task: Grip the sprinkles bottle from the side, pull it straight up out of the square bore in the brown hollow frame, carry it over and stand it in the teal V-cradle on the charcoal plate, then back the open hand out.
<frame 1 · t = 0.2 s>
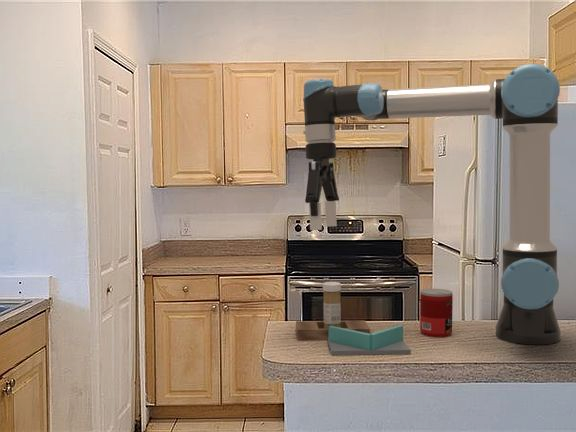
hand: (324, 228, 166), 27 cm above the countertop, tool pointing down, fingers open, 13 cm apart
sprinkles bottle: (332, 335, 168), resting in brown hollow frame
brown hollow frame: (332, 335, 168), on the countertop
canned food: (436, 334, 169), on the countertop
v cradle: (367, 347, 156), on the countertop
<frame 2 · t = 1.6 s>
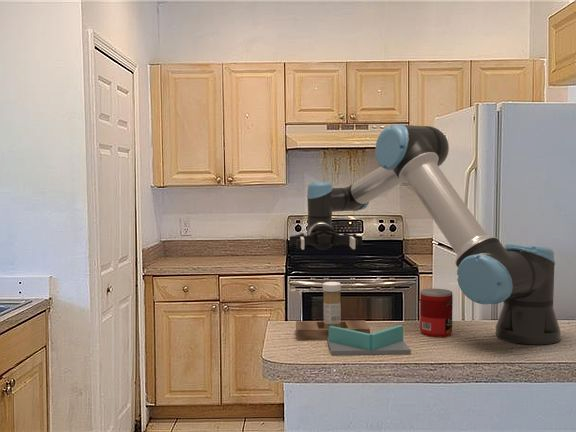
hand: (328, 244, 176), 22 cm above the countertop, tool horizontal, fingers open, 13 cm apart
nothing on the countertop moved.
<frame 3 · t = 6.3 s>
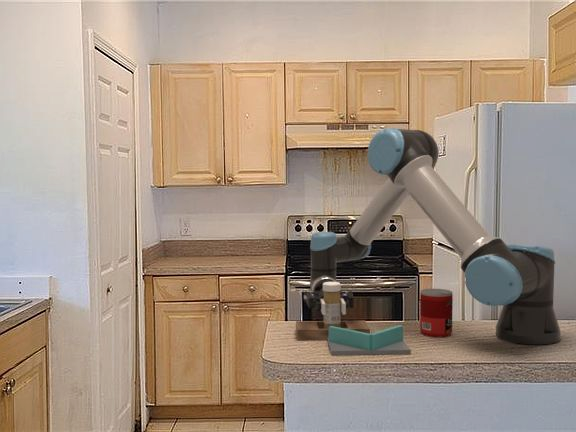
hand: (334, 309, 163), 8 cm above the countertop, tool horizontal, fingers closed on sprinkles bottle, 4 cm apart
sprinkles bottle: (332, 335, 168), resting in brown hollow frame, touching gripper
everything else where it was.
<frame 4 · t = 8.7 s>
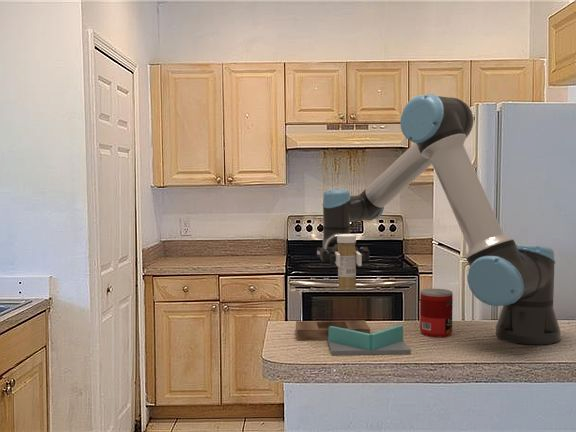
hand: (349, 260, 156), 21 cm above the countertop, tool horizontal, fingers closed on sprinkles bottle, 4 cm apart
sprinkles bottle: (346, 290, 162), point 13 cm above the countertop, touching gripper
everything else where it was.
when the fingers open (10 cm above the countertop, at t = 11.4 s): sprinkles bottle drops 1 cm, resting on v cradle.
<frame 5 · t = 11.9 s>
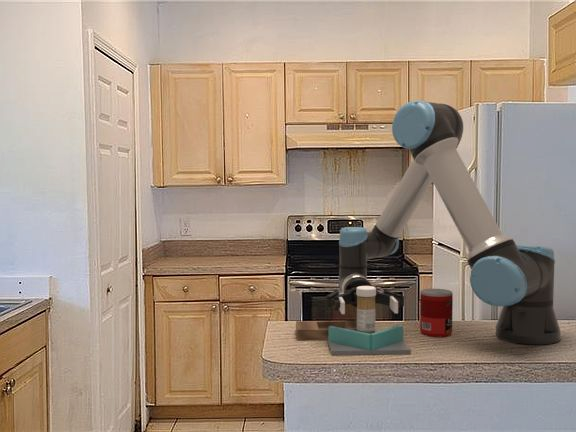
hand: (369, 307, 152), 10 cm above the countertop, tool horizontal, fingers open, 11 cm apart
sprinkles bottle: (365, 344, 156), point 1 cm above the countertop, touching v cradle
everything else where it was.
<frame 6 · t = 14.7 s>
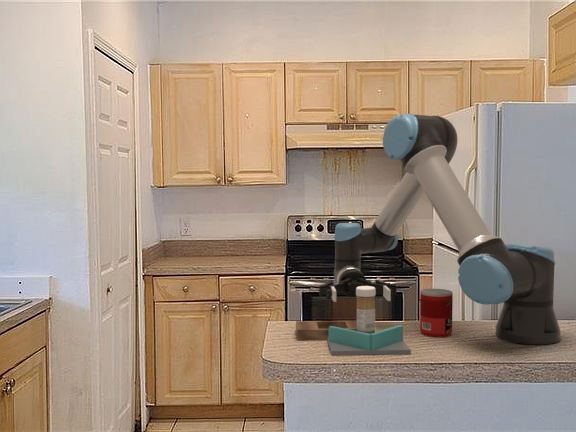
hand: (362, 296, 165), 10 cm above the countertop, tool horizontal, fingers open, 13 cm apart
nothing on the countertop moved.
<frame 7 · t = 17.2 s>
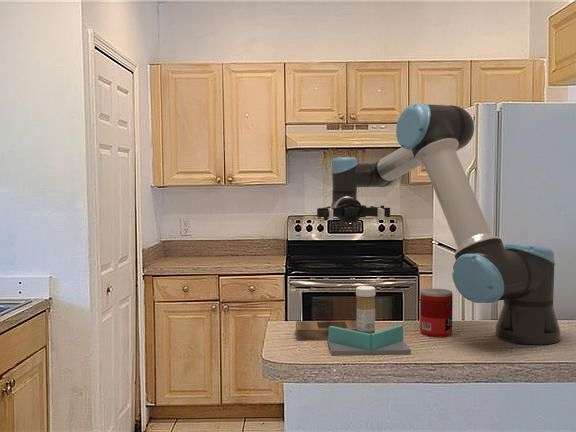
hand: (357, 214, 175), 30 cm above the countertop, tool horizontal, fingers open, 13 cm apart
nothing on the countertop moved.
at the end: sprinkles bottle 0.4 cm off-centre on the v cradle, point 0.8 cm above the v cradle's base; sprinkles bottle tilted 0°; the gripper is holding nothing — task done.
